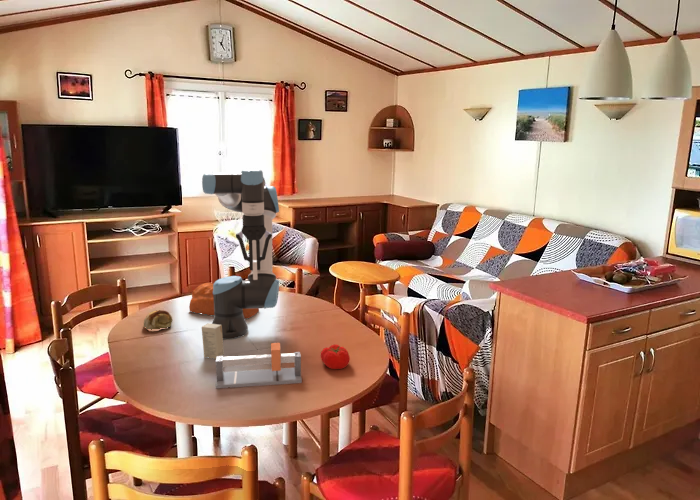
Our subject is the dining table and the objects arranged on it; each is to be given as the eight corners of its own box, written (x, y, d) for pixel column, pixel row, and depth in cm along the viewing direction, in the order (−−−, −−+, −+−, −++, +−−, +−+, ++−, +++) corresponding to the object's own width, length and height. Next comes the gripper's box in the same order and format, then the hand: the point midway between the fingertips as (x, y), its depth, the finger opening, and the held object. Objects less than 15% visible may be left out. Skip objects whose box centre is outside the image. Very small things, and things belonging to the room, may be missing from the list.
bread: (205, 303, 263) (204, 277, 261) (262, 310, 253) (261, 283, 250) (185, 313, 249) (184, 285, 246) (245, 321, 239) (244, 293, 236)
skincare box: (224, 355, 203) (222, 324, 200) (217, 359, 199) (216, 328, 196) (209, 353, 205) (207, 322, 202) (202, 357, 201) (201, 326, 198)
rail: (216, 381, 180) (215, 360, 178) (217, 376, 184) (216, 355, 182) (301, 376, 184) (300, 355, 183) (300, 371, 188) (299, 351, 186)
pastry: (157, 334, 223) (156, 316, 221) (135, 329, 229) (134, 311, 227) (182, 323, 235) (180, 306, 234) (160, 319, 241) (159, 302, 239)
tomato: (328, 373, 189) (328, 356, 187) (317, 361, 198) (317, 344, 197) (353, 369, 192) (354, 352, 191) (342, 357, 202) (342, 340, 201)
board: (216, 388, 177) (216, 385, 177) (218, 374, 187) (218, 371, 187) (301, 382, 182) (301, 379, 181) (299, 369, 191) (299, 367, 191)
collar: (271, 371, 181) (271, 350, 179) (271, 363, 187) (271, 343, 185) (280, 370, 182) (280, 349, 180) (280, 362, 187) (279, 342, 186)
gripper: (233, 216, 185) (236, 282, 190) (272, 215, 187) (273, 281, 192) (234, 212, 192) (237, 276, 198) (271, 212, 194) (273, 275, 200)
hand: (255, 278), depth 195 cm, fingers closed
